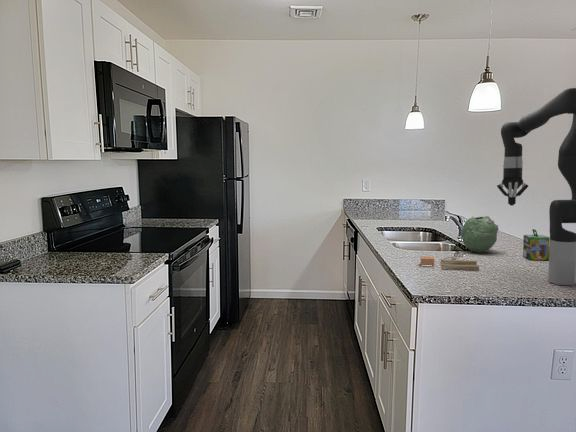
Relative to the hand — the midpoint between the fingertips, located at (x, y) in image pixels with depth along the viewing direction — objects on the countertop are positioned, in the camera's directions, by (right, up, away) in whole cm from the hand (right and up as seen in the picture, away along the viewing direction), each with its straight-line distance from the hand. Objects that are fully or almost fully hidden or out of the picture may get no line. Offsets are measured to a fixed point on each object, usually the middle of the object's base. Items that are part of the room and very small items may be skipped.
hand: (511, 205), depth 188 cm
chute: (-21, -29, +8) cm, 37 cm away
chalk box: (+22, -26, +19) cm, 40 cm away
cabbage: (+2, -25, +38) cm, 45 cm away
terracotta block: (-34, -29, +13) cm, 47 cm away
